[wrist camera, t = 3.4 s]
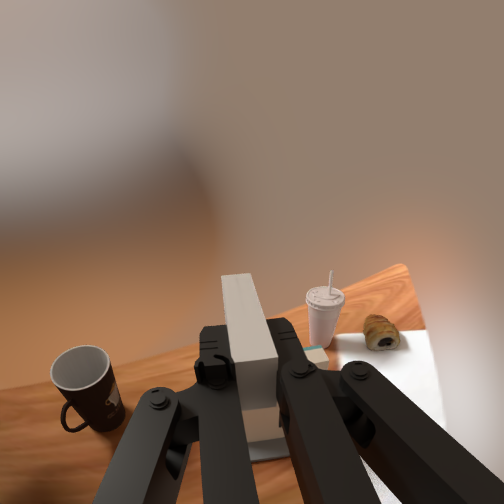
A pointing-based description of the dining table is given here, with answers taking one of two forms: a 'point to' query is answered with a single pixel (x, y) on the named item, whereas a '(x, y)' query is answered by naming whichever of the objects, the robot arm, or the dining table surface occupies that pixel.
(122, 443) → the robot arm
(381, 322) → the pastry
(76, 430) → the coffee mug
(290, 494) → the dining table surface
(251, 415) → the tile
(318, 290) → the smoothie
